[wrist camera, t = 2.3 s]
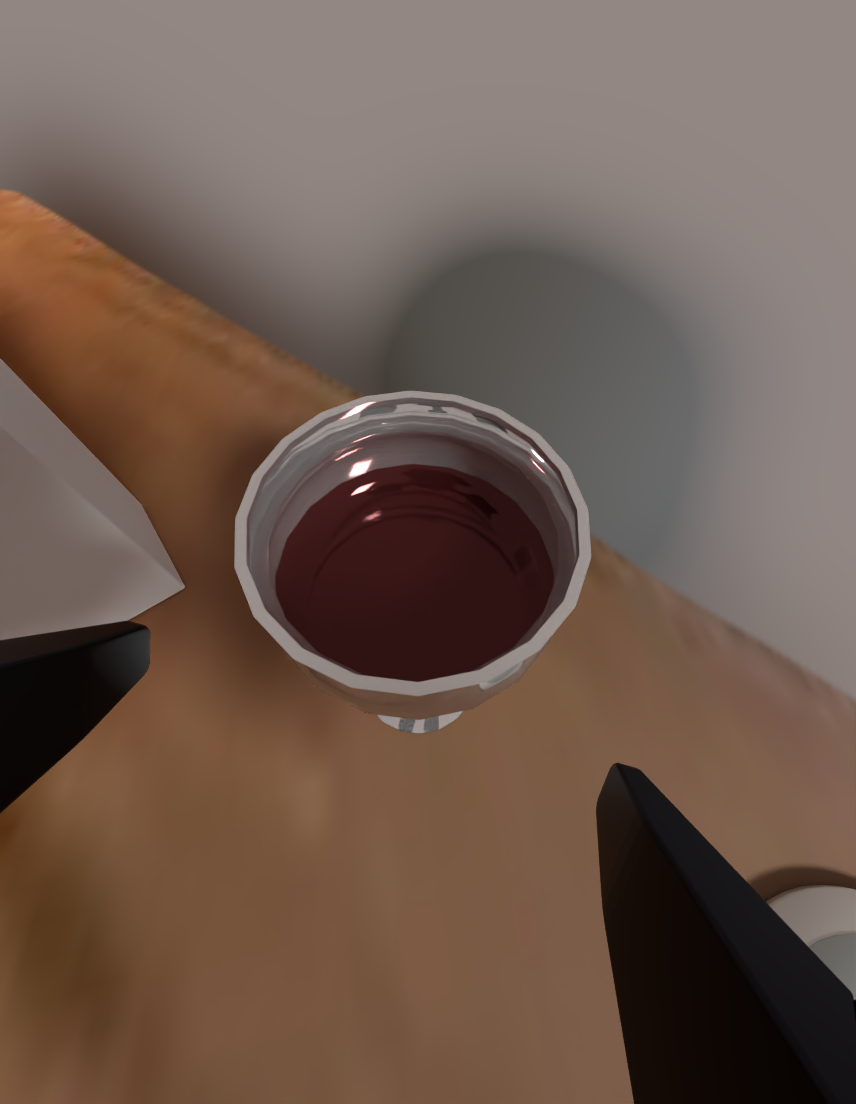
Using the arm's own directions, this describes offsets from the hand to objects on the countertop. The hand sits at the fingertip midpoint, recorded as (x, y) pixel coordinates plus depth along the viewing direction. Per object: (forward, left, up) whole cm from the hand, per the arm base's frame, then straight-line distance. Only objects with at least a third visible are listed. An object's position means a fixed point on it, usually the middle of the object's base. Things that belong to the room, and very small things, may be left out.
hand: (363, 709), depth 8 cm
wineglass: (+2, +3, -11) cm, 11 cm away
